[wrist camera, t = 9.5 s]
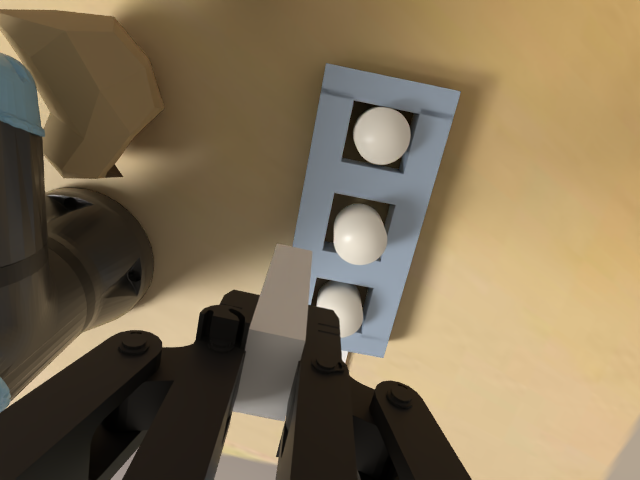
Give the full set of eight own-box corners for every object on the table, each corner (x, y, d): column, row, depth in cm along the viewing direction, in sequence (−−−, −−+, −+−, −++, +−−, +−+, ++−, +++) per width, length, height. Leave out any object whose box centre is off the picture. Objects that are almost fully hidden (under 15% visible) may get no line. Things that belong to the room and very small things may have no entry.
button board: (380, 342, 48) (383, 358, 45) (278, 323, 47) (275, 338, 44) (451, 91, 38) (461, 91, 36) (326, 65, 38) (326, 63, 35)
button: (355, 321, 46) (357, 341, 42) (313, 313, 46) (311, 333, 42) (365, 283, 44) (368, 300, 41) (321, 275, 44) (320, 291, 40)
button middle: (375, 253, 41) (380, 269, 38) (329, 244, 41) (328, 259, 37) (387, 208, 40) (393, 220, 36) (339, 199, 40) (339, 209, 36)
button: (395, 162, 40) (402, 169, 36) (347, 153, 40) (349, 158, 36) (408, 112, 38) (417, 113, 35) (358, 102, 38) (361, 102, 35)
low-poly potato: (106, -18, 37) (-36, 18, 33) (121, -31, 28) (-67, 16, 25) (176, 138, 45) (68, 181, 42) (204, 164, 37) (72, 220, 33)
